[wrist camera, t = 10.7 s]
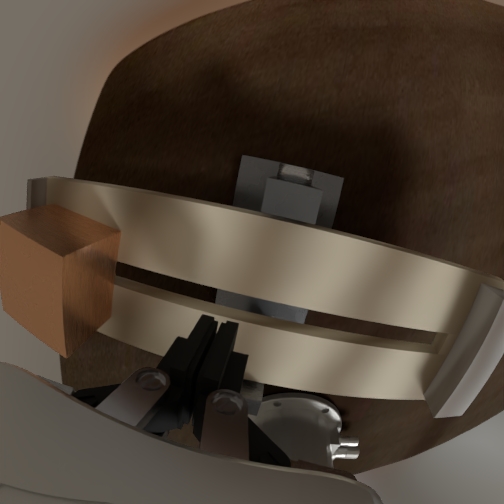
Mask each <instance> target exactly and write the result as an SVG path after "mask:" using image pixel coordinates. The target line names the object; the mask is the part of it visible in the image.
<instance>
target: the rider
mask: <svg viewBox="0 0 504 504" xmlns="http://www.w3.org/2000/svg"><path fill="white" fill-rule="evenodd" d="M121 232H122V231H119V230H117V229H114V228H112V227H110V226H107V225H105V224H102V223H100V222H97V221H95V220H92V219H90V218H88V217H85V216H83V215H80V214H78V213H76V212H73V211H71V210H68V209H66V208H64V207H61V206H59V205H57V204H54V203H53V204H48V205H44V206H40V207H36V208H32V209H28V210H24V211H20V212H16V213H12V214H9V215H5V216H2V217H0V290H1V298H2V304H3V310H4V311H5V312H6V313H8V314H9V315H10V316H11V317H12V318H13V319H14V320H16V321H17V322H18V323H19V324H20V325H22V326H23V327H24V328H25V329H27V330H28V331H29V332H30V333H32V334H33V335H34V336H36V337H37V338H38V339H40V340H41V341H42V342H44V343H45V344H47V345H48V346H49V347H51V348H52V349H53V350H55V351H56V352H58V353H59V354H61V355H62V356H63V357H65V358H66V359H67V358H68V357H69V356H70V355H71V354H72V353H73V352H74V351H75V350H76V349H77V348H78V347H79V346H80V345H81V344H82V343H84V342H85V341H86V340H87V339H88V338H89V337H90V336H91V335H92V334H93V333H94V332H95V331H97V330H98V329H99V328H100V327H101V326H102V325H103V324H104V323H105V322H106V321H108V320H109V319H110V318H111V312H112V300H113V290H114V281H115V272H116V264H117V257H118V250H119V244H120V238H121Z"/></svg>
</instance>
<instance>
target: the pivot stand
mask: <svg viewBox="0 0 504 504" xmlns="http://www.w3.org/2000/svg"><path fill="white" fill-rule="evenodd" d="M343 180H344V178H342V177H338V176H334V175H331V174H327V173H323V172H319V171H315V170H311V169H307V168H303V167H298V166H294V165H290V164H285V163H281V162H276V161H271V160H266V159H261V158H256V157H251V156H246V155H242V159H241V164H240V169H239V174H238V179H237V184H236V189H235V194H234V199H233V205H232V206H234V207H238V208H243V209H248V210H253V211H257V212H262V213H266V214H271V215H275V216H280V217H284V218H288V219H293V220H297V221H301V222H305V223H310V224H314V225H318V226H322V227H326V228H330V229H332V226H333V222H334V218H335V214H336V210H337V206H338V202H339V197H340V193H341V189H342V185H343ZM215 304H218V305H222V306H226V307H230V308H234V309H238V310H243V311H247V312H251V313H255V314H260V315H264V316H269V317H273V318H278V319H282V320H287V321H292V322H297V323H301V324H304V321H305V318H306V315H307V312H308V309H305V308H300V307H296V306H291V305H286V304H282V303H277V302H273V301H268V300H264V299H260V298H255V297H251V296H247V295H242V294H238V293H234V292H230V291H226V290H222V289H217V295H216V301H215ZM263 389H264V383H260V382H256V381H251V380H246V379H243V382H242V386H241V391H240V395H242V396H243V397H244V398H245V400H246V401H247V405H248V414H249V415H254V416H257V414H258V411H259V408H260V406H261V403H262V397H263Z"/></svg>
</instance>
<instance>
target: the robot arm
mask: <svg viewBox="0 0 504 504" xmlns="http://www.w3.org/2000/svg"><path fill="white" fill-rule="evenodd" d="M217 327H218V321H215V320H214V317H212V316H208V315H204V314H202V315H201V317H200V318H199V320H198V322H197V323H196V325H195V327H194V328H193V330H192V332H191V333H190V335H189V336H188V338H183V337H180V336H178V337H177V338H176V339H175V341H174V342H173V344H172V345H171V347H170V348H169V350H168V351H167V353H166V354H165V356H164V357H163V359H162V360H161V361H160V363H159V364H158V366H157V367H156V368H153V367H144V368H140V369H138V370H136V371H135V372H134V373H133V374H132V375H131V376H130V377H128V378H127V379H126V380H125V381H124V382H123V383H122V384H116V385H109V386H103V387H96V388H89V389H82V390H78V391H77V392H76V391H74V388H72V387H69V386H66V385H63V384H60V383H57V382H54V381H52V380H49V379H46V378H44V377H41V376H38V375H35V374H33V373H31V372H29V371H27V370H25V369H23V368H20V367H18V366H15V365H12V364H8V363H4V362H0V504H383V502H382V500H381V498H380V496H379V495H378V494H377V493H376V491H375V490H373V489H372V488H371V487H369V486H367V485H365V484H363V483H361V482H359V481H357V480H356V478H355V476H354V475H352V474H351V473H349V472H347V471H344V470H339V469H334V468H333V460H334V459H335V458H342V459H356V458H357V457H358V455H359V446H357V445H358V443H359V438H358V437H357V436H347V437H346V436H341V434H339V433H340V431H341V427H342V420H341V415H340V412H339V410H338V409H337V408H336V406H335V405H333V404H332V403H331V402H329V401H328V400H326V399H324V398H321V397H318V396H315V395H312V394H305V393H278V394H274V395H269V396H265V397H263V398H262V403H261V406H260V408H259V411H258V414H257V416H254V415H249V414H248V405H247V401H246V400H245V398H244V397H243V396H242V395H240V391H241V386H242V382H243V378H244V374H245V369H246V365H247V361H248V356H249V355H247V354H243V353H239V352H235V351H233V350H234V345H235V341H236V336H237V331H238V327H239V323H236V322H232V321H228V320H227V321H226V323H223V322H222V323H221V325H220V327H219V329H218V331H217ZM192 414H193V418H192V426H194V428H193V434H194V435H195V437H196V438H197V439H198V441H199V442H200V446H199V449H197V448H194V447H191V446H187V445H184V444H181V443H178V442H175V441H172V440H169V439H166V438H167V436H168V434H169V430H173V429H176V428H178V429H182V426H183V424H184V423H186V424H189V422H190V419H191V417H192Z"/></svg>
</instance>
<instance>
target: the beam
mask: <svg viewBox="0 0 504 504" xmlns="http://www.w3.org/2000/svg"><path fill="white" fill-rule="evenodd" d="M53 203H54V204H57V205H59V206H61V207H64V208H66V209H68V210H71V211H73V212H76V213H78V214H80V215H83V216H85V217H88V218H90V219H92V220H95V221H97V222H100V223H102V224H105V225H107V226H110V227H112V228H114V229H117V230H119V231H122V232H121V238H120V244H119V250H118V257H117V261H118V262H122V263H125V264H129V265H132V266H136V267H139V268H143V269H146V270H150V271H153V272H157V273H160V274H164V275H168V276H171V277H175V278H179V279H183V280H186V281H190V282H194V283H198V284H202V285H206V286H210V287H214V288H218V289H222V290H226V291H230V292H234V293H238V294H242V295H247V296H251V297H255V298H260V299H264V300H268V301H273V302H277V303H282V304H286V305H291V306H296V307H300V308H305V309H310V310H315V311H320V312H325V313H330V314H335V315H340V316H345V317H350V318H356V319H361V320H366V321H372V322H378V323H383V324H389V325H395V326H401V327H407V328H414V329H420V330H427V331H434V332H437V334H436V336H435V338H434V340H433V342H432V344H423V343H415V342H408V341H400V340H393V339H386V338H380V337H373V336H367V335H361V334H355V333H349V332H343V331H338V330H332V329H327V328H322V327H317V326H311V325H306V324H301V323H297V322H292V321H287V320H282V319H278V318H273V317H269V316H264V315H260V314H255V313H251V312H247V311H243V310H238V309H234V308H230V307H226V306H222V305H218V304H214V303H210V302H207V301H203V300H199V299H195V298H191V297H188V296H184V295H180V294H177V293H173V292H170V291H166V290H163V289H159V288H156V287H153V286H149V285H146V284H142V283H139V282H136V281H133V280H129V279H126V278H123V277H120V276H117V275H115V281H114V290H113V300H112V312H111V318H110V319H109V320H108V321H106V322H105V323H104V324H103V325H102V326H101V327H100V328H99V329H98V330H97V331H98V332H100V333H103V334H105V335H107V336H110V337H112V338H115V339H117V340H120V341H122V342H125V343H128V344H130V345H133V346H135V347H138V348H141V349H144V350H146V351H149V352H152V353H155V354H158V355H161V356H165V354H166V353H167V351H168V350H169V348H170V347H171V345H172V344H173V342H174V341H175V339H176V338H177V337H178V336H180V337H183V338H188V336H189V335H190V333H191V332H192V330H193V328H194V327H195V325H196V323H197V322H198V320H199V318H200V317H201V315H202V314H204V315H208V316H212V317H214V320H215V321H218V327H217V331H218V329H219V327H220V325H221V323H222V322H223V323H226V321H227V320H228V321H232V322H236V323H239V327H238V331H237V336H236V341H235V345H234V350H233V351H235V352H239V353H243V354H247V355H249V356H248V361H247V365H246V369H245V374H244V378H243V379H246V380H251V381H256V382H260V383H265V384H270V385H275V386H281V387H286V388H292V389H298V390H304V391H311V392H318V393H326V394H334V395H343V396H353V397H364V398H379V399H403V400H426V402H427V404H428V406H429V408H430V410H431V413H432V415H433V417H434V418H441V417H452V416H461V415H462V414H463V413H464V412H465V411H466V409H467V408H468V407H469V405H470V404H471V403H472V401H473V400H474V399H475V397H476V396H477V394H478V393H479V392H480V390H481V389H482V387H483V386H484V384H485V383H486V381H487V380H488V378H489V377H490V375H491V373H492V372H493V370H494V369H495V367H496V365H497V364H498V362H499V360H500V358H501V357H502V355H503V353H504V280H502V279H501V278H499V277H496V276H493V275H490V274H487V273H484V272H481V271H478V270H475V269H472V268H469V267H465V266H462V265H459V264H456V263H453V262H449V261H446V260H443V259H440V258H436V257H433V256H430V255H426V254H423V253H419V252H416V251H412V250H409V249H405V248H402V247H398V246H395V245H391V244H388V243H384V242H380V241H376V240H373V239H369V238H365V237H361V236H358V235H354V234H350V233H346V232H342V231H338V230H334V229H330V228H326V227H322V226H318V225H314V224H310V223H305V222H301V221H297V220H293V219H288V218H284V217H280V216H275V215H271V214H266V213H262V212H257V211H253V210H248V209H243V208H238V207H234V206H229V205H224V204H219V203H214V202H209V201H204V200H199V199H194V198H188V197H183V196H178V195H172V194H167V193H161V192H155V191H150V190H144V189H138V188H132V187H126V186H120V185H113V184H107V183H100V182H93V181H86V180H79V179H72V178H64V177H57V176H53V177H44V178H36V179H29V180H28V183H27V210H28V209H32V208H36V207H40V206H44V205H48V204H53Z"/></svg>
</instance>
